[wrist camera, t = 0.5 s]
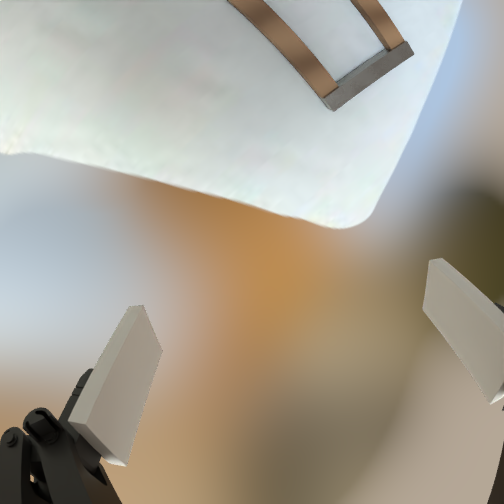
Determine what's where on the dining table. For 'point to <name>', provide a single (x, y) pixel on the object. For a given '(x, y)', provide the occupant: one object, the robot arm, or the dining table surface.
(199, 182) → the dining table surface
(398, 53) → the end stop
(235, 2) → the walnut channel
